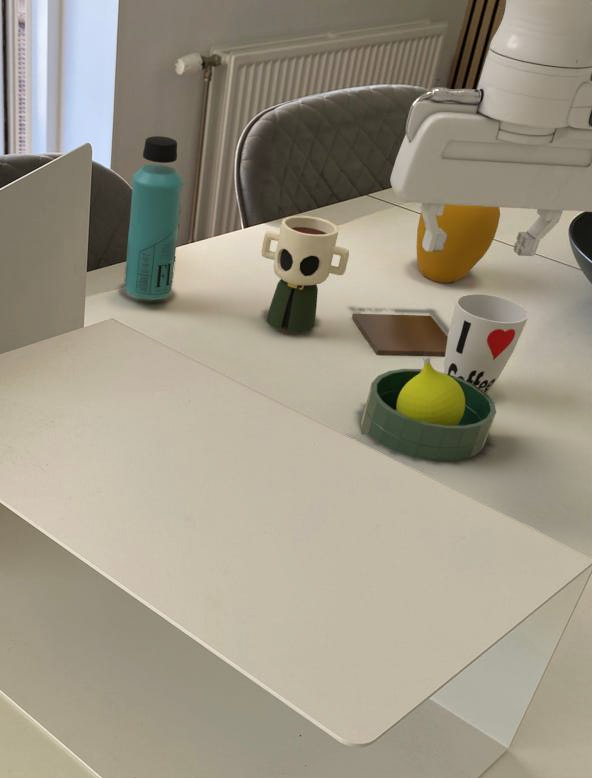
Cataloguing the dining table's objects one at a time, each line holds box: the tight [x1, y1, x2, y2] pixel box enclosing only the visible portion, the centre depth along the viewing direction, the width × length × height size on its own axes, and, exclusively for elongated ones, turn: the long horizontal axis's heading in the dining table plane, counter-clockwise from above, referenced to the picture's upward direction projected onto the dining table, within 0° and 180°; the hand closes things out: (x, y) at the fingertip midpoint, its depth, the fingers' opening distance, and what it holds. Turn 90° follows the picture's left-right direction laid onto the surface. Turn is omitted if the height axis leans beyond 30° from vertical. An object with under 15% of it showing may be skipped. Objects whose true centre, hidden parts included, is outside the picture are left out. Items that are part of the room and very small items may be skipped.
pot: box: [360, 368, 497, 462], centre depth 108 cm, size 13×13×5 cm
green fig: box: [396, 347, 465, 426], centre depth 106 cm, size 7×7×10 cm
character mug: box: [261, 215, 350, 334], centre depth 125 cm, size 11×7×13 cm, turn 65°
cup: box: [443, 293, 530, 394], centre depth 117 cm, size 8×8×10 cm
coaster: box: [351, 313, 448, 357], centre depth 130 cm, size 11×11×1 cm
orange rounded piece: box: [416, 204, 501, 284], centre depth 143 cm, size 11×11×13 cm
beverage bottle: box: [123, 135, 184, 301], centre depth 126 cm, size 6×7×20 cm
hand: (477, 251), depth 96 cm, fingers open, 8 cm apart
